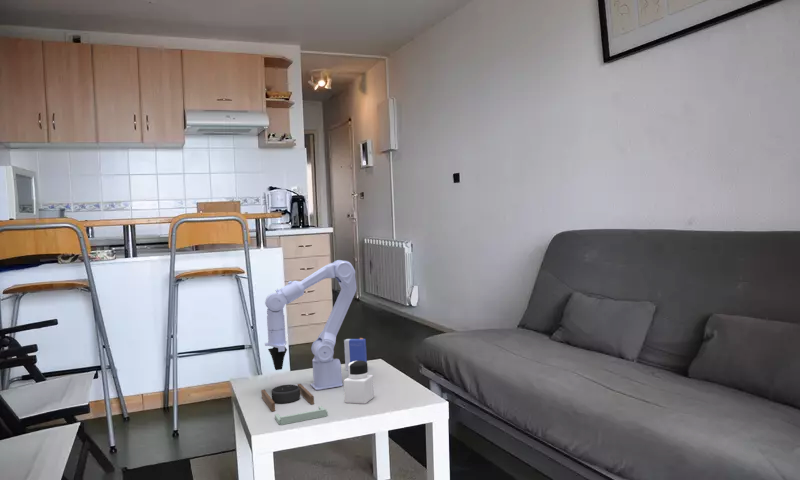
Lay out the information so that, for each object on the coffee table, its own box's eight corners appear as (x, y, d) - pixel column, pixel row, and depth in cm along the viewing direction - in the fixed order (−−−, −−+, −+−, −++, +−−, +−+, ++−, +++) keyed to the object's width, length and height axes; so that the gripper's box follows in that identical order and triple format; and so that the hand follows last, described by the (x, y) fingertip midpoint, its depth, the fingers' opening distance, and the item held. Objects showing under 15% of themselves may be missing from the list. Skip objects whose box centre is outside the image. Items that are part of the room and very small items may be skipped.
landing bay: (321, 409, 168) (321, 403, 168) (328, 416, 162) (327, 409, 162) (274, 418, 162) (274, 411, 162) (279, 425, 156) (279, 418, 156)
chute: (300, 391, 190) (300, 383, 189) (314, 404, 174) (313, 396, 174) (261, 397, 184) (261, 389, 184) (271, 411, 169) (271, 403, 169)
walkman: (367, 369, 215) (365, 337, 215) (365, 371, 212) (363, 339, 212) (347, 369, 217) (346, 338, 217) (345, 370, 214) (343, 339, 214)
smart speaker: (266, 403, 178) (265, 390, 178) (282, 395, 186) (281, 383, 186) (290, 405, 175) (289, 392, 175) (305, 396, 183) (304, 384, 183)
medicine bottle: (374, 397, 178) (372, 359, 178) (365, 404, 171) (363, 364, 171) (353, 396, 180) (351, 358, 180) (344, 402, 174) (342, 364, 173)
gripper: (260, 327, 194) (262, 366, 194) (268, 333, 181) (270, 375, 181) (280, 325, 197) (283, 363, 197) (290, 331, 183) (292, 372, 184)
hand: (278, 369), depth 189 cm, fingers closed
